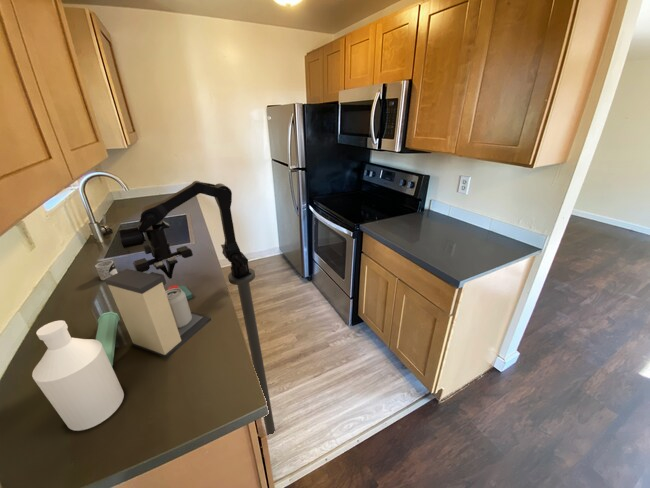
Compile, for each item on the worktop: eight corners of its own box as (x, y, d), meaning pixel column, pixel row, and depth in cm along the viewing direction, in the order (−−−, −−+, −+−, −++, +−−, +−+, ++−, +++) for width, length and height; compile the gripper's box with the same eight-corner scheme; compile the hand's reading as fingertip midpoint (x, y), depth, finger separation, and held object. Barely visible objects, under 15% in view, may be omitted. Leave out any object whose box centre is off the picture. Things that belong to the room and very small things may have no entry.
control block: (185, 288, 115) (183, 281, 114) (193, 297, 109) (191, 290, 108) (159, 298, 109) (156, 291, 108) (165, 308, 103) (163, 301, 102)
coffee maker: (179, 310, 101) (161, 251, 91) (211, 320, 96) (195, 258, 86) (132, 345, 86) (103, 279, 76) (166, 358, 81) (140, 289, 71)
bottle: (68, 443, 60) (10, 359, 50) (62, 408, 68) (10, 329, 57) (130, 405, 68) (91, 325, 58) (118, 377, 75) (82, 303, 65)
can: (193, 313, 98) (184, 284, 93) (192, 326, 91) (183, 296, 86) (169, 318, 95) (159, 289, 90) (167, 332, 89) (156, 302, 84)
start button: (177, 287, 110) (176, 284, 109) (180, 291, 108) (179, 287, 107) (167, 291, 108) (166, 287, 107) (170, 295, 105) (169, 291, 105)
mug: (115, 278, 125) (110, 265, 122) (98, 281, 123) (92, 268, 120) (122, 268, 134) (117, 256, 131) (106, 271, 132) (101, 258, 129)
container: (102, 358, 74) (110, 308, 93) (80, 373, 72) (93, 319, 92) (119, 368, 77) (124, 318, 97) (98, 383, 76) (107, 329, 95)
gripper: (178, 228, 110) (188, 262, 116) (123, 242, 99) (137, 280, 105) (188, 235, 102) (197, 272, 109) (130, 252, 91) (144, 291, 97)
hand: (170, 278), depth 105 cm, fingers closed
